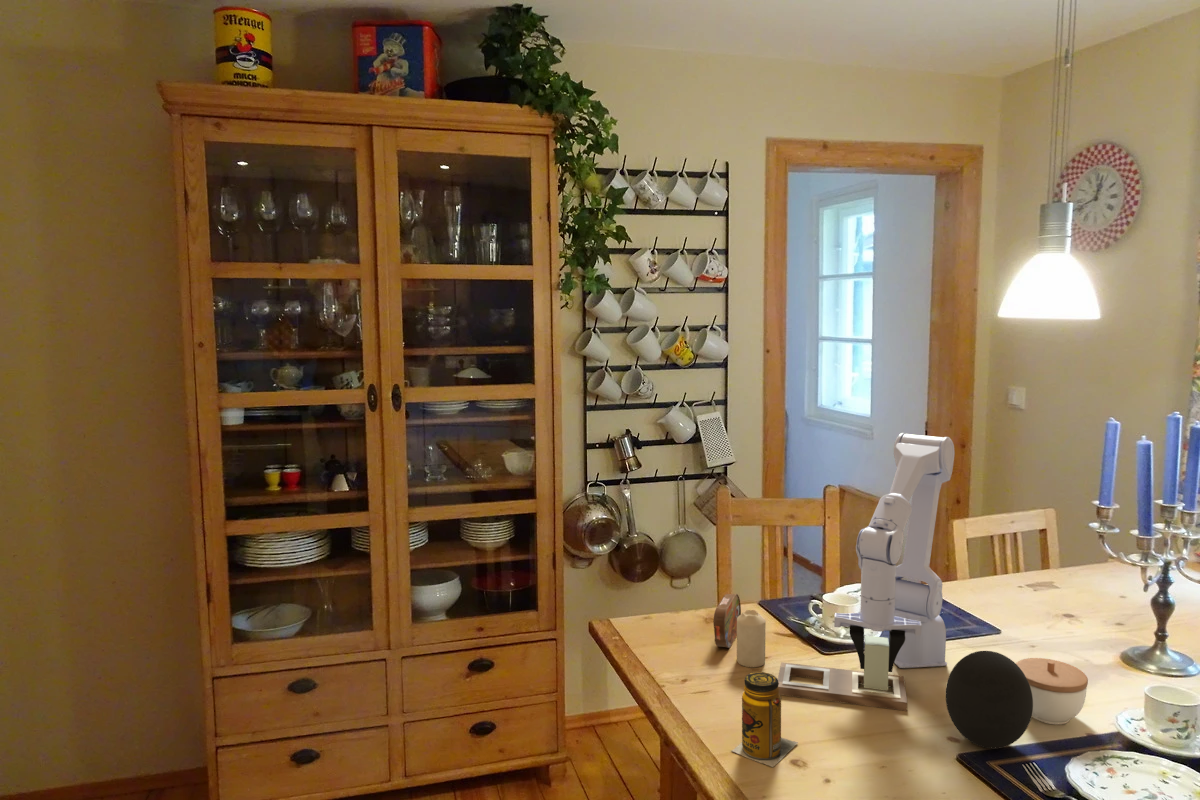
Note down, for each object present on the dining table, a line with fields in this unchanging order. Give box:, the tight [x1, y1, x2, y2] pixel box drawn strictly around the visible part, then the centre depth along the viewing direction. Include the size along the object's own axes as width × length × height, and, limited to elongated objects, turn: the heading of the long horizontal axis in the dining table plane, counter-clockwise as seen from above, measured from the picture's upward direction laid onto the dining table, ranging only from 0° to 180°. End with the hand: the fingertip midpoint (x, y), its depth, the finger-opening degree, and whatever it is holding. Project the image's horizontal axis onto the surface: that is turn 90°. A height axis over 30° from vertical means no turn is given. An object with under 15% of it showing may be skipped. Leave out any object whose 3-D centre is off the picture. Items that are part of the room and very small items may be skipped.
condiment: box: [730, 671, 799, 768], centre depth 127 cm, size 7×8×12 cm
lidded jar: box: [1015, 657, 1089, 726], centre depth 135 cm, size 11×11×9 cm
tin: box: [712, 593, 742, 649], centre depth 168 cm, size 15×3×8 cm, turn 158°
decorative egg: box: [945, 650, 1033, 749], centre depth 127 cm, size 12×12×15 cm
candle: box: [736, 609, 767, 668], centre depth 157 cm, size 6×6×10 cm
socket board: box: [777, 661, 908, 712], centre depth 146 cm, size 22×10×2 cm, turn 73°
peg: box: [863, 635, 889, 691], centre depth 144 cm, size 4×4×8 cm
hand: (875, 668), depth 144 cm, fingers closed on peg, 4 cm apart
